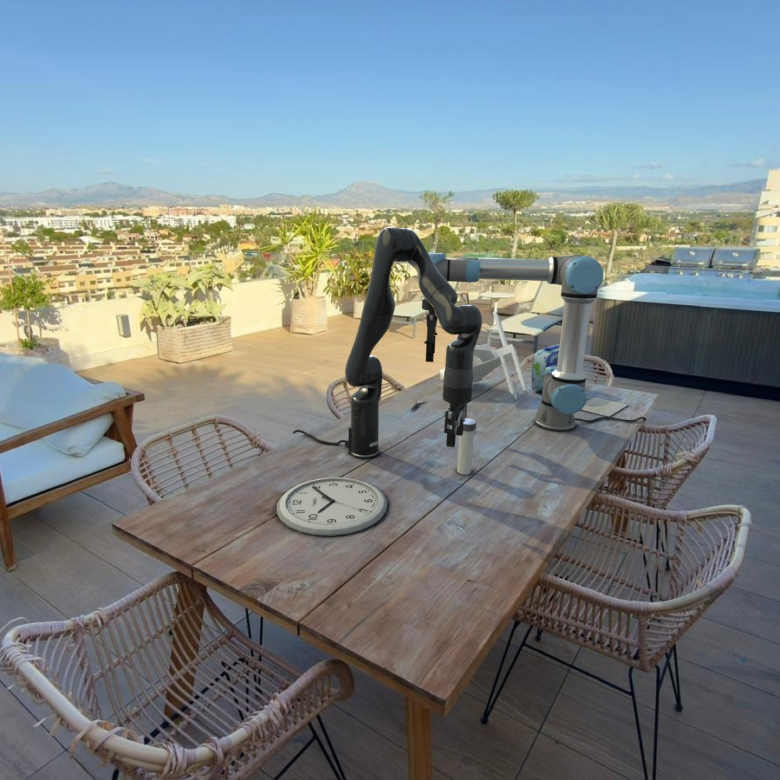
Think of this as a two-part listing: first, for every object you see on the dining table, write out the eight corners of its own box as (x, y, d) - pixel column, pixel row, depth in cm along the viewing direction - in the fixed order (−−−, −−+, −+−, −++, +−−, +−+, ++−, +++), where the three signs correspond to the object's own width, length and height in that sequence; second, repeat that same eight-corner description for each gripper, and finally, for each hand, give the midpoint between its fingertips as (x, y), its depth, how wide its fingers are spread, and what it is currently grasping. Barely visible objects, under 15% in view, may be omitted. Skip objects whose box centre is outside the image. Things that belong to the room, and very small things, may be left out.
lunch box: (547, 397, 237) (552, 352, 231) (526, 391, 245) (531, 348, 238) (574, 386, 255) (580, 344, 249) (554, 381, 262) (559, 340, 256)
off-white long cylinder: (462, 467, 167) (465, 419, 162) (474, 471, 164) (477, 422, 159) (454, 471, 164) (457, 422, 159) (465, 476, 161) (468, 426, 156)
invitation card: (608, 416, 214) (573, 407, 224) (608, 416, 214) (573, 408, 224) (628, 404, 229) (594, 396, 238) (628, 405, 229) (594, 397, 238)
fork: (408, 410, 217) (408, 406, 216) (419, 399, 231) (419, 395, 230) (414, 411, 216) (414, 407, 215) (425, 400, 230) (425, 396, 230)
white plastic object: (461, 429, 252) (437, 405, 227) (444, 352, 274) (420, 323, 250) (535, 404, 240) (518, 377, 215) (510, 326, 262) (492, 293, 237)
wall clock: (392, 527, 129) (268, 531, 127) (391, 533, 130) (269, 537, 127) (383, 473, 158) (282, 475, 155) (383, 478, 158) (282, 480, 156)
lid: (465, 423, 163) (465, 416, 163) (479, 428, 160) (479, 421, 159) (454, 428, 160) (455, 421, 159) (469, 432, 156) (469, 425, 155)
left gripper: (451, 374, 143) (448, 429, 148) (436, 388, 130) (433, 448, 135) (478, 377, 140) (474, 433, 145) (465, 392, 128) (462, 453, 133)
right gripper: (424, 293, 195) (422, 349, 202) (419, 302, 172) (417, 365, 178) (444, 294, 195) (441, 350, 201) (442, 303, 171) (439, 366, 177)
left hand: (454, 440), depth 140 cm, fingers open, 8 cm apart
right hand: (430, 357), depth 190 cm, fingers open, 13 cm apart
